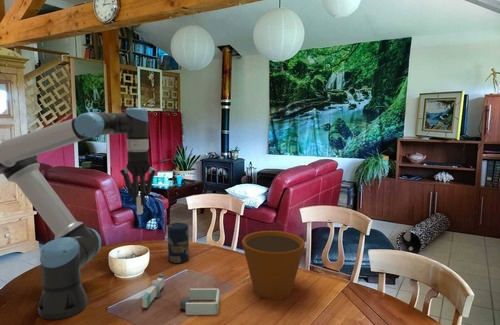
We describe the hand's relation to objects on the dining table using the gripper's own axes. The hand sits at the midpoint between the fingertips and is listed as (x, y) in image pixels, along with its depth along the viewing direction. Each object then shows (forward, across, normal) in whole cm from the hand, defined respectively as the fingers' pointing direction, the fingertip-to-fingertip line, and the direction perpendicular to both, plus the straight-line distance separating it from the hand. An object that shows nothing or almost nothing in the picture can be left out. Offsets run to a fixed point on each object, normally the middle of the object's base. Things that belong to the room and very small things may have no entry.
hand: (140, 213), depth 132 cm
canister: (+31, +9, +29) cm, 43 cm away
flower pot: (+31, +50, 0) cm, 59 cm away
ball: (+30, +19, -14) cm, 38 cm away
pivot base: (+30, +6, -4) cm, 31 cm away
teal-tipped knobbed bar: (+29, +6, -5) cm, 31 cm away
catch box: (+30, +24, -12) cm, 41 cm away
